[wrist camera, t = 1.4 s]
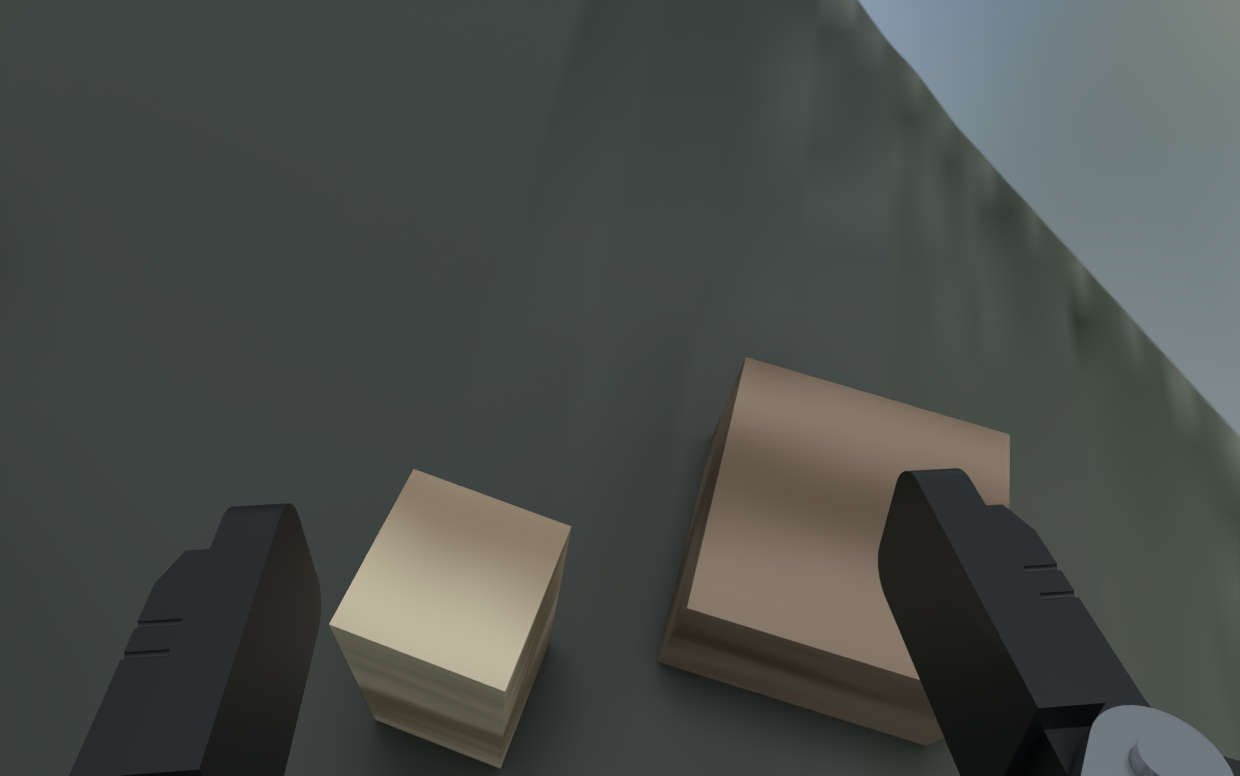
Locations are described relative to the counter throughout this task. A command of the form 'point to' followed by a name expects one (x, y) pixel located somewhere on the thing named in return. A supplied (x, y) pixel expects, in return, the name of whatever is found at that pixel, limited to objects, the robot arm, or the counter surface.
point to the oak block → (453, 615)
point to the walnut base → (812, 546)
